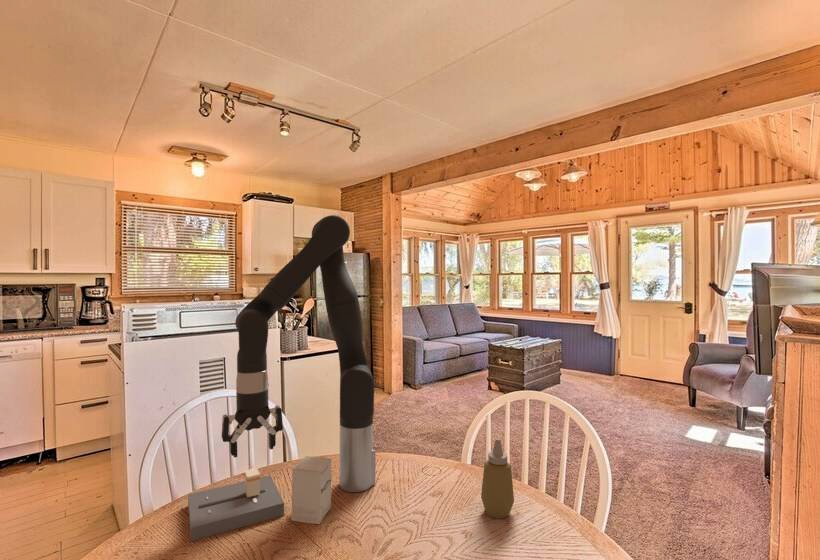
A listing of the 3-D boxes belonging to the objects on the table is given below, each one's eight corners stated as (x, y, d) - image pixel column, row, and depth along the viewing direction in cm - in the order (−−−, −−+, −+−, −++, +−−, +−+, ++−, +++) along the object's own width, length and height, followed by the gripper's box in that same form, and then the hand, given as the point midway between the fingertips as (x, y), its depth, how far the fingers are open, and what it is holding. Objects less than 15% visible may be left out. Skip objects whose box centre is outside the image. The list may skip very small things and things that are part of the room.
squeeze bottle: (520, 511, 101) (520, 439, 101) (503, 526, 95) (504, 449, 95) (491, 499, 106) (492, 431, 106) (474, 512, 101) (474, 439, 101)
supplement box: (319, 525, 95) (320, 471, 95) (290, 521, 97) (291, 468, 96) (332, 507, 102) (332, 457, 102) (304, 504, 104) (305, 454, 104)
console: (270, 485, 113) (270, 474, 113) (284, 515, 99) (284, 501, 99) (188, 506, 103) (188, 493, 103) (190, 541, 89) (190, 527, 89)
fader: (257, 487, 105) (257, 467, 105) (260, 494, 102) (260, 474, 102) (244, 490, 104) (244, 470, 104) (246, 497, 100) (247, 477, 100)
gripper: (277, 381, 109) (278, 441, 109) (219, 389, 102) (220, 453, 102) (284, 387, 103) (285, 451, 103) (223, 396, 96) (224, 465, 96)
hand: (253, 452), depth 103 cm, fingers open, 8 cm apart
